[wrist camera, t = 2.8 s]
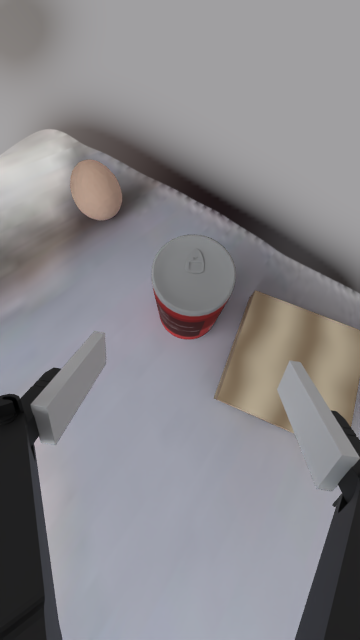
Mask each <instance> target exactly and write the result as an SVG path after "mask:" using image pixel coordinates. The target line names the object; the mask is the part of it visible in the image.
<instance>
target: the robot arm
mask: <svg viewBox="0 0 360 640" xmlns="http://www.w3.org/2000/svg"><path fill="white" fill-rule="evenodd" d="M105 365H106V347H105V333H103V332H97V331H94V332H93V333H92V334H91V336H90V337H89V338H88V339H87V340H86V341H85V342H84V344H83V345H82V346H81V347H80V348H79V349H78V351H77V352H76V353H75V354H74V355H73V356H72V357H71V359H70V360H69V361H68V362H67V363H66V364H65V365H64V367H63V368H62V369H59V368H52V369H51V370H49V371H47V372H45V373H44V374H43V375H42V376H41V377H40V379H39V380H38V381H37V382H36V383H35V384H34V386H32V387H31V388H30V389H29V390H28V391H27V392H26V393H25V394H24V395H23V396H22V398H21V399H20V398H19V396H17V395H15V394H7V395H2V396H0V640H62V635H61V630H60V626H59V620H58V614H57V606H56V599H55V592H54V584H53V577H52V570H51V562H50V555H49V548H48V540H47V533H46V526H45V519H44V511H43V504H42V497H41V489H40V482H39V475H38V467H37V460H36V453H35V446H34V442H35V441H36V439H37V438H38V436H39V438H40V441H41V443H45V444H51V445H56V444H57V442H58V441H59V439H60V437H61V436H62V434H63V433H64V431H65V429H66V428H67V426H68V424H69V423H70V421H71V420H72V418H73V416H74V415H75V413H76V412H77V410H78V408H79V407H80V405H81V403H82V402H83V400H84V399H85V397H86V395H87V394H88V392H89V390H90V389H91V387H92V386H93V384H94V382H95V381H96V379H97V377H98V376H99V374H100V373H101V371H102V369H103V368H104V366H105ZM277 391H278V393H279V396H280V398H281V401H282V403H283V406H284V408H285V411H286V413H287V416H288V419H289V421H290V424H291V426H292V429H293V431H294V434H295V436H296V439H297V441H298V444H299V446H300V449H301V451H302V454H303V456H304V459H305V461H306V464H307V466H308V469H309V471H310V474H311V476H312V479H313V481H314V484H315V486H316V489H321V490H327V491H333V490H334V489H335V488H336V487H337V485H339V487H340V490H341V492H342V494H341V495H340V496H339V498H338V499H337V500H336V501H335V502H334V503H333V506H334V507H335V506H336V505H337V506H336V509H335V512H334V515H333V519H332V522H331V525H330V528H329V531H328V535H327V538H326V541H325V544H324V547H323V551H322V554H321V557H320V560H319V564H318V567H317V570H316V573H315V576H314V580H313V583H312V586H311V589H310V592H309V596H308V599H307V602H306V605H305V609H304V612H303V615H302V618H301V621H300V625H299V628H298V631H297V634H296V637H295V640H360V440H359V439H358V437H356V434H355V433H354V431H353V430H352V429H351V427H350V425H349V424H348V422H347V421H346V419H345V418H344V417H343V416H341V415H340V414H339V413H338V412H337V411H332V410H330V409H329V407H328V406H327V404H326V402H325V401H324V399H323V397H322V396H321V394H320V393H319V391H318V389H317V388H316V386H315V385H314V383H313V381H312V380H311V378H310V377H309V375H308V373H307V372H306V370H305V368H304V367H303V365H302V364H301V362H296V361H290V360H289V363H288V365H287V367H286V370H285V372H284V374H283V377H282V379H281V381H280V384H279V386H278V388H277Z"/></svg>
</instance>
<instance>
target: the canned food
mask: <svg viewBox="0 0 360 640" xmlns="http://www.w3.org/2000/svg"><path fill="white" fill-rule="evenodd" d="M235 280H236V270H235V265H234V262H233V259H232V257H231V256H230V254H229V252H228V251H227V250H226V249H225V248H224V247H223V246H222V245H221V244H220V243H218V242H217V241H215V240H213V239H211V238H209V237H206V236H202V235H184V236H180V237H177V238H175V239H173V240H171V241H169V242H168V243H166V244H165V245H164V246H163V247H162V248H161V249H160V251H159V252H158V253H157V255H156V257H155V259H154V261H153V265H152V284H153V290H154V295H155V299H156V303H157V307H158V311H159V315H160V319H161V322H162V324H163V325H164V327H165V329H166V330H167V331H168V332H169V333H171V334H172V335H174V336H176V337H178V338H181V339H195V338H199V337H201V336H203V335H204V334H206V333H207V332H208V331H209V330H210V329H211V328H212V326H213V324H214V323H215V321H216V319H217V318H218V316H219V314H220V313H221V311H222V309H223V308H224V306H225V304H226V303H227V301H228V299H229V297H230V295H231V294H232V291H233V288H234V285H235Z"/></svg>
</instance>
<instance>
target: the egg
mask: <svg viewBox="0 0 360 640" xmlns="http://www.w3.org/2000/svg"><path fill="white" fill-rule="evenodd" d="M70 188H71V193H72V197H73V199H74V201H75V203H76V205H77V207H78V208H79V209H80V210H81V211H82V212H83V213H84V214H85V215H86V216H88V217H90V218H92V219H95V220H101V221H102V220H108V219H110V218H112V217H114V216H115V215H116V214H117V212H118V211H119V209H120V207H121V204H122V192H121V188H120V185H119V182H118V181H117V179H116V177H115V175H114V174H113V173H112V172H111V171H110V170H109V169H108V168H107V167H106V166H104V165H103V164H102V163H100V162H98V161H95V160H84V161H81V162H79V163H78V164H77V165H76V166H75V167H74V169H73V171H72V175H71V181H70Z"/></svg>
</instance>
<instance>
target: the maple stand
mask: <svg viewBox="0 0 360 640" xmlns="http://www.w3.org/2000/svg"><path fill="white" fill-rule="evenodd" d="M289 360H290V361H296V362H301V364H302V365H303V367H304V368H305V370H306V372H307V373H308V375H309V377H310V378H311V380H312V381H313V383H314V385H315V386H316V388H317V389H318V391H319V393H320V394H321V396H322V397H323V399H324V401H325V402H326V404H327V406H328V407H329V409H330V410H332V411H337V412H338V413H339V414H340V415H341V416H343V417H344V418H345V419H346V421H347V422H348V424H349V425H350V427H351V424H352V418H353V412H354V407H355V401H356V395H357V390H358V384H359V378H360V330H358V329H355V328H353V327H350V326H348V325H345V324H342V323H340V322H337V321H334V320H332V319H329V318H327V317H324V316H321V315H319V314H316V313H314V312H311V311H308V310H306V309H303V308H300V307H298V306H295V305H293V304H290V303H287V302H285V301H282V300H279V299H277V298H274V297H272V296H269V295H266V294H264V293H261V292H258V291H256V290H255V292H254V293H253V294H252V295H251V297H250V298H249V301H248V303H247V306H246V309H245V312H244V315H243V318H242V320H241V323H240V326H239V329H238V332H237V334H236V337H235V340H234V343H233V346H232V348H231V351H230V354H229V357H228V360H227V362H226V365H225V368H224V371H223V374H222V376H221V379H220V382H219V385H218V388H217V390H216V393H215V396H214V399H216V400H219V401H221V402H223V403H226V404H228V405H230V406H232V407H235V408H237V409H239V410H241V411H244V412H246V413H248V414H251V415H253V416H255V417H257V418H260V419H262V420H264V421H266V422H269V423H271V424H273V425H276V426H278V427H280V428H282V429H285V430H287V431H289V432H291V433H294V431H293V429H292V426H291V424H290V421H289V419H288V416H287V413H286V411H285V408H284V406H283V403H282V401H281V398H280V396H279V393H278V391H277V388H278V386H279V384H280V381H281V379H282V377H283V374H284V372H285V370H286V367H287V365H288V363H289Z"/></svg>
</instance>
